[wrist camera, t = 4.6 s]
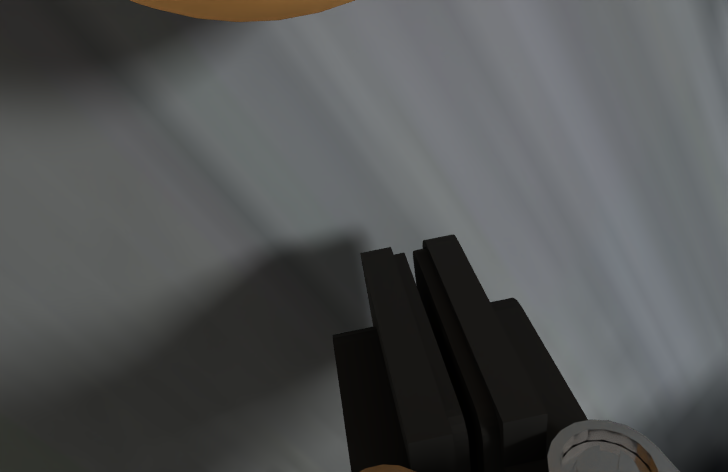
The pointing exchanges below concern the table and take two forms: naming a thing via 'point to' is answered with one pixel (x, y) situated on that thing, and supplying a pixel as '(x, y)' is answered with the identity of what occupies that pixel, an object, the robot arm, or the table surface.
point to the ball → (243, 8)
